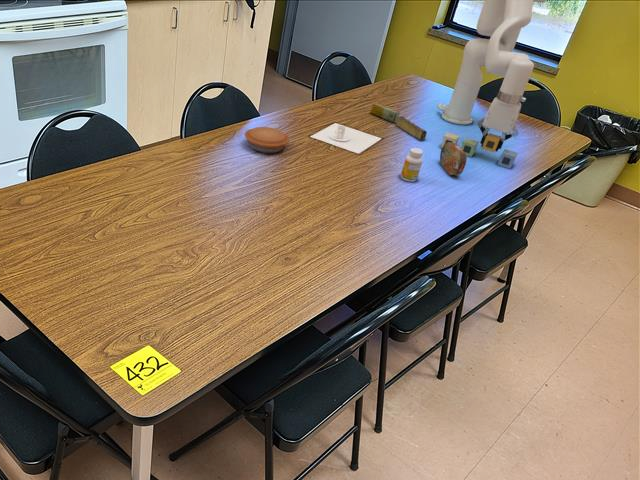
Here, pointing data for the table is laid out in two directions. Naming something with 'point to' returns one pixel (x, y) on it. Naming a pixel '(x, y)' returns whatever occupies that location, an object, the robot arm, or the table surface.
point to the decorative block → (411, 128)
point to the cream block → (450, 139)
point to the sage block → (469, 146)
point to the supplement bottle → (412, 165)
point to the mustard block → (491, 142)
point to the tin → (453, 158)
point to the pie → (266, 139)
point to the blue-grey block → (507, 158)
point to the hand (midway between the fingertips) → (489, 147)
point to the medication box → (385, 112)
